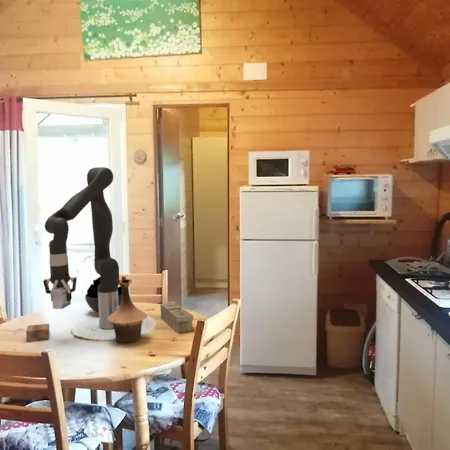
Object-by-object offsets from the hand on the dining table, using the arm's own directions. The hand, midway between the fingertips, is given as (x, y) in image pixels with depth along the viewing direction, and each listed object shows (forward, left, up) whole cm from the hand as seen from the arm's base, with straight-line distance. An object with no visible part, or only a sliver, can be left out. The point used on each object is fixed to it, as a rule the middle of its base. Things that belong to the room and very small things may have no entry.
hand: (61, 301), depth 212 cm
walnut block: (+12, -6, -18) cm, 22 cm away
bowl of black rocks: (-16, -41, -18) cm, 47 cm away
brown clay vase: (-28, +6, -18) cm, 33 cm away
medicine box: (0, 0, -2) cm, 2 cm away
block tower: (-50, -12, -18) cm, 54 cm away
